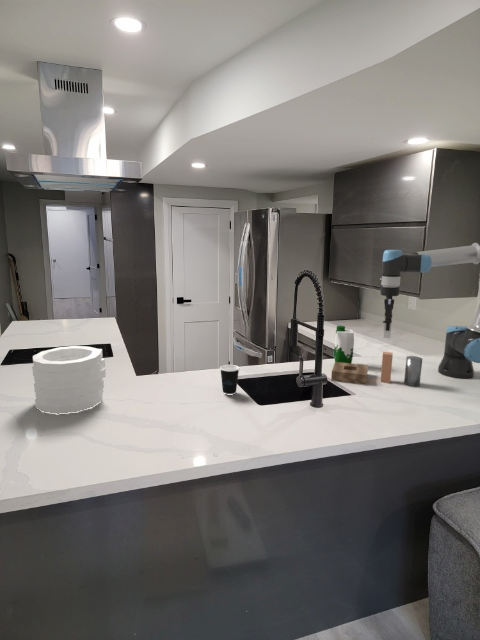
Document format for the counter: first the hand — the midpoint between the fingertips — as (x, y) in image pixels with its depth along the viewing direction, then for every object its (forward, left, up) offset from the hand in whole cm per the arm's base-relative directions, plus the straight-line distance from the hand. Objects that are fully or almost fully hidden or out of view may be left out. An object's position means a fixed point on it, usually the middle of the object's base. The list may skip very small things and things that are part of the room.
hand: (386, 334), depth 181 cm
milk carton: (+19, -17, -22) cm, 33 cm away
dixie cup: (+59, +39, -22) cm, 74 cm away
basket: (+112, +68, -22) cm, 133 cm away
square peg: (-1, 0, -21) cm, 21 cm away
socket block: (+14, +1, -21) cm, 26 cm away
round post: (-12, 0, -21) cm, 25 cm away
